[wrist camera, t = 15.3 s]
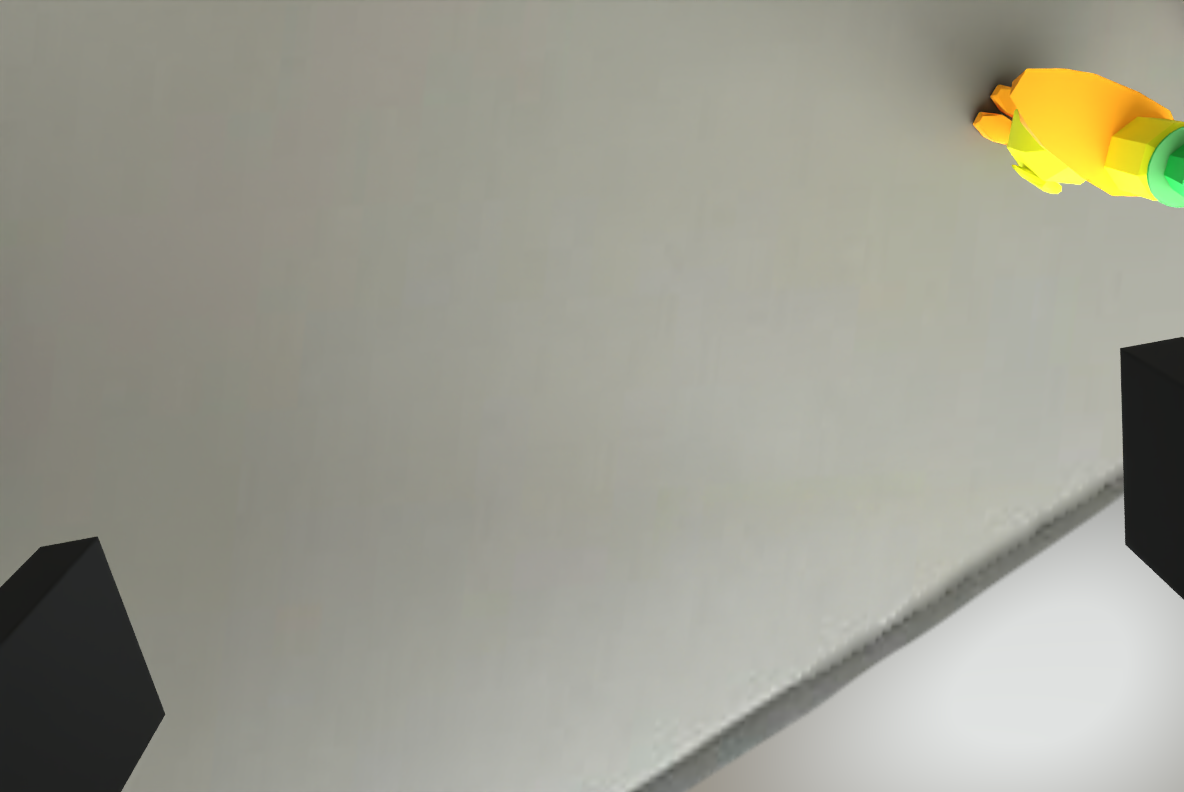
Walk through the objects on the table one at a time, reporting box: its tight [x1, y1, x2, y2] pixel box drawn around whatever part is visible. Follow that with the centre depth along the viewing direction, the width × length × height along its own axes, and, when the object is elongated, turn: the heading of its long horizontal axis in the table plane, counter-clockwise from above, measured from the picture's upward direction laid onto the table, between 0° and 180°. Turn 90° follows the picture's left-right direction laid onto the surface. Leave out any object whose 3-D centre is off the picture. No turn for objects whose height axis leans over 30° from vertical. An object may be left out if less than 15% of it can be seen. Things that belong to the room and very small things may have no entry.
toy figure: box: [973, 69, 1184, 208], centre depth 32 cm, size 7×4×12 cm, turn 62°
